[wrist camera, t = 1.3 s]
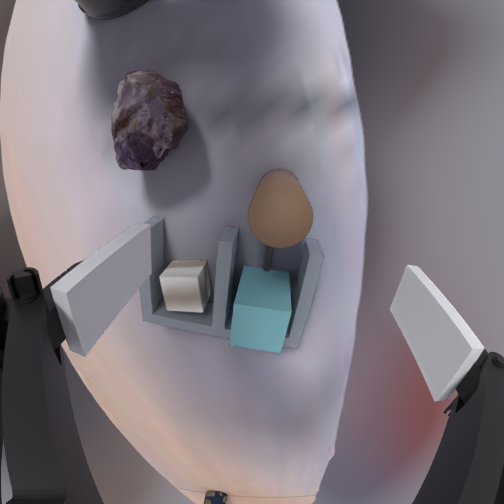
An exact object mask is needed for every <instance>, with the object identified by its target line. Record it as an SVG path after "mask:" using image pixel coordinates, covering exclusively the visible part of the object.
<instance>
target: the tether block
mask: <svg viewBox="0 0 504 504" xmlns="http://www.w3.org/2000/svg"><path fill="white" fill-rule="evenodd" d="M312 222H313V211H312V207H311V205H310V202H309V200H308V199H307V197H306V195H305V193H304V191H303V189H302V187H301V185H300V183H299V181H298V180H297V178H296V177H295V176H294V175H293V174H292V173H291V172H289V171H287V170H283V169H275V170H271V171H269V172H268V173H266V174H265V175H264V176H263V177H262V178H261V180H260V182H259V185H258V187H257V189H256V192H255V194H254V196H253V199H252V201H251V204H250V206H249V210H248V223H249V227H250V229H251V231H252V233H253V234H254V236H255V237H256V238H257V239H258V240H259V241H261V242H262V243H264V244H266V245H268V246H267V253H266V259H265V265H264V268H257V267H251V266H244V267H243V271H242V275H241V278H240V282H239V286H238V290H237V294H236V297H235V301H234V307H233V316H232V325H231V334H230V344H229V345H230V346H236V347H242V348H248V349H255V350H262V351H270V352H277V353H281V350H282V347H283V343H284V339H285V336H286V332H287V328H288V324H289V321H290V317H291V313H292V310H291V293H290V278H289V272H284V271H277V270H270V263H271V257H272V252H273V247H275V248H286V247H290V246H293V245H295V244H297V243H299V242H300V241H302V240H303V239H304V238H305V237H306V235H307V234H308V233H309V231H310V229H311V226H312Z"/></svg>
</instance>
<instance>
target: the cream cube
mask: <svg viewBox="0 0 504 504" xmlns="http://www.w3.org/2000/svg"><path fill="white" fill-rule="evenodd" d="M159 278H160V283H161V287H162V292H163V296H164V300H165V304H166V308H167V310H168V311H185V312H203V311H204V309H205V306H206V304H207V302H208V299H209V297H210V294H211V287H210V279H209V272H208V264H207V260H172V262H171V263H170V264H169V265H168V267H167V268H166V269H165V270H164V272H163V273H162V274H161V275H160V277H159Z"/></svg>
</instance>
